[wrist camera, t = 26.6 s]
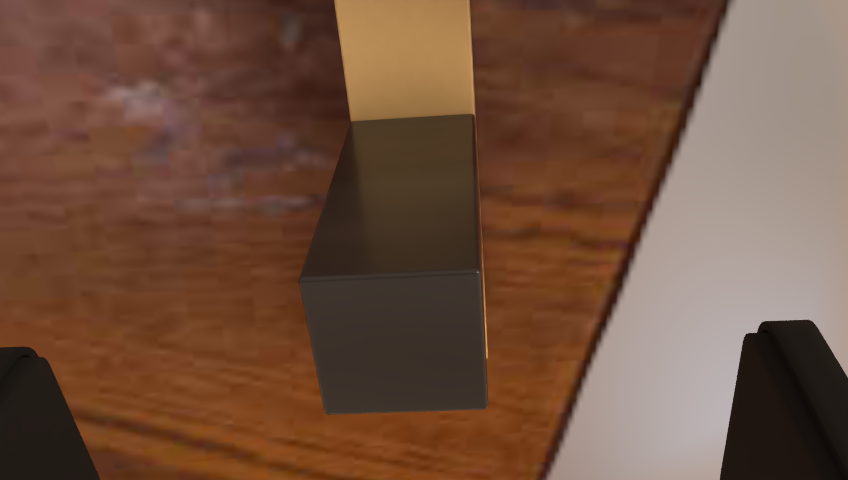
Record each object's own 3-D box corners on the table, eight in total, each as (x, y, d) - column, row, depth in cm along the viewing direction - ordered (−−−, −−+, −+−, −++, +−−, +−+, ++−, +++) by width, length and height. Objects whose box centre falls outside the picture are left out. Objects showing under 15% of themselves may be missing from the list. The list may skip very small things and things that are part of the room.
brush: (341, -98, 19) (241, -1, 10) (464, -109, 19) (465, -18, 10) (392, 304, 25) (355, 575, 16) (485, 300, 25) (497, 573, 16)
